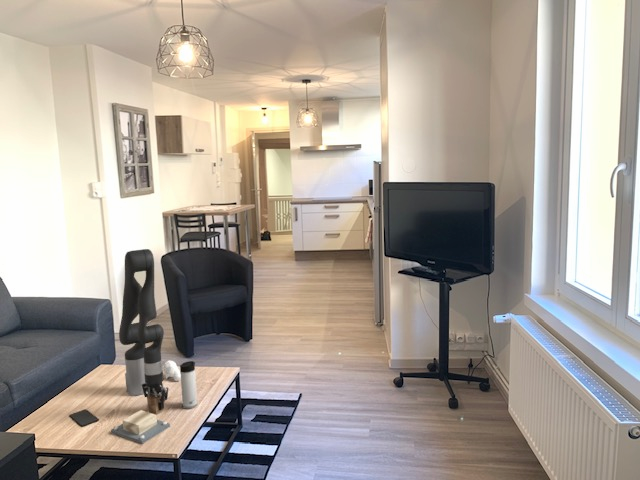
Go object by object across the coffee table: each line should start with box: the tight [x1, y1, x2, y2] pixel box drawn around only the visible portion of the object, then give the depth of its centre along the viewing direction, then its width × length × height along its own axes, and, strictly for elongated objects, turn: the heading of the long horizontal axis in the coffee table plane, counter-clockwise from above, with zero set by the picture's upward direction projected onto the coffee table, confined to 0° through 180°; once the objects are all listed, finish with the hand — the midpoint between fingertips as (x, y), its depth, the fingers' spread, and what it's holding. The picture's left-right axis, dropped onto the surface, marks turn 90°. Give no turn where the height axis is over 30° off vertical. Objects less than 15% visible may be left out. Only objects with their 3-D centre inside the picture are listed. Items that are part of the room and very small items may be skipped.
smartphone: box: [68, 409, 100, 428], centre depth 203 cm, size 7×1×15 cm
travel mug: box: [179, 360, 198, 410], centre depth 210 cm, size 6×7×20 cm
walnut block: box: [146, 393, 166, 416], centre depth 207 cm, size 5×5×7 cm
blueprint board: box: [110, 419, 171, 445], centre depth 192 cm, size 18×14×2 cm
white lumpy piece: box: [162, 360, 181, 382], centre depth 240 cm, size 6×8×12 cm
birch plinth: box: [122, 409, 158, 435], centre depth 192 cm, size 9×9×4 cm
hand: (156, 408), depth 207 cm, fingers closed on walnut block, 5 cm apart
